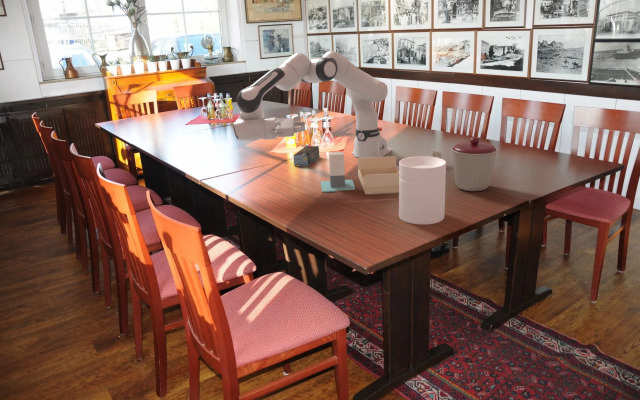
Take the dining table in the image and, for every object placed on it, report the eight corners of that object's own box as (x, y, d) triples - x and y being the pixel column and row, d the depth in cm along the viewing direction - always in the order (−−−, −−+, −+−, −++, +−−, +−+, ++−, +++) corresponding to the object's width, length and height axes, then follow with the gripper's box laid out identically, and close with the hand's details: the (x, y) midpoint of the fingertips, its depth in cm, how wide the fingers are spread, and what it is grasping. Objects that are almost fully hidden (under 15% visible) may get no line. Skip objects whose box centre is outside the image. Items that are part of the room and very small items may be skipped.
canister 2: (461, 178, 226) (463, 130, 219) (502, 185, 215) (505, 135, 208) (441, 190, 213) (443, 139, 206) (484, 197, 202) (487, 144, 195)
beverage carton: (293, 166, 258) (292, 153, 256) (305, 156, 275) (305, 144, 273) (308, 167, 256) (307, 154, 253) (320, 157, 273) (319, 145, 271)
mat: (321, 192, 217) (321, 191, 216) (320, 182, 230) (320, 181, 230) (355, 190, 217) (355, 189, 217) (352, 180, 230) (352, 179, 230)
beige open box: (365, 195, 211) (365, 175, 208) (358, 176, 236) (357, 158, 233) (407, 193, 211) (407, 172, 208) (395, 174, 237) (396, 156, 234)
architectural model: (435, 169, 242) (436, 154, 240) (425, 166, 248) (426, 151, 245) (441, 168, 244) (441, 153, 241) (431, 165, 249) (431, 150, 247)
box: (330, 187, 221) (329, 155, 216) (330, 183, 226) (328, 152, 221) (345, 186, 221) (343, 154, 216) (344, 183, 226) (343, 151, 221)
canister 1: (438, 207, 194) (439, 155, 188) (449, 223, 179) (451, 167, 172) (395, 209, 194) (395, 157, 187) (403, 225, 179) (403, 169, 172)
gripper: (270, 126, 208) (304, 123, 208) (272, 116, 227) (304, 114, 227) (271, 141, 210) (306, 139, 210) (273, 130, 229) (305, 128, 229)
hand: (305, 126), depth 219 cm, fingers open, 8 cm apart
